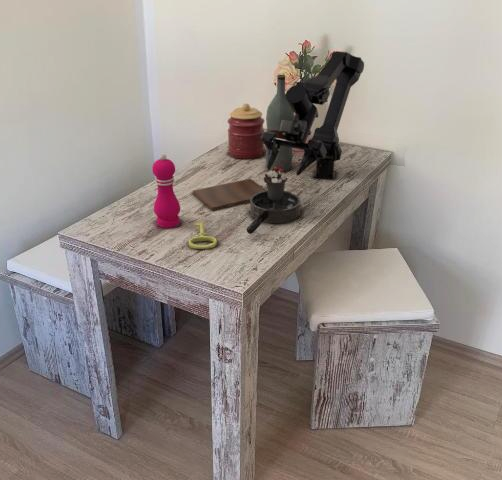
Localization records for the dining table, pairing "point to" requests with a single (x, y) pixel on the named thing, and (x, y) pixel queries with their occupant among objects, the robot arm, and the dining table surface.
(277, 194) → the sundae
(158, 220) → the pepper mill
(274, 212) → the skillet
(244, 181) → the walnut board
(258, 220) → the skillet handle
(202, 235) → the key
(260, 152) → the kitchen canister
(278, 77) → the bottle
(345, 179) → the dining table surface
